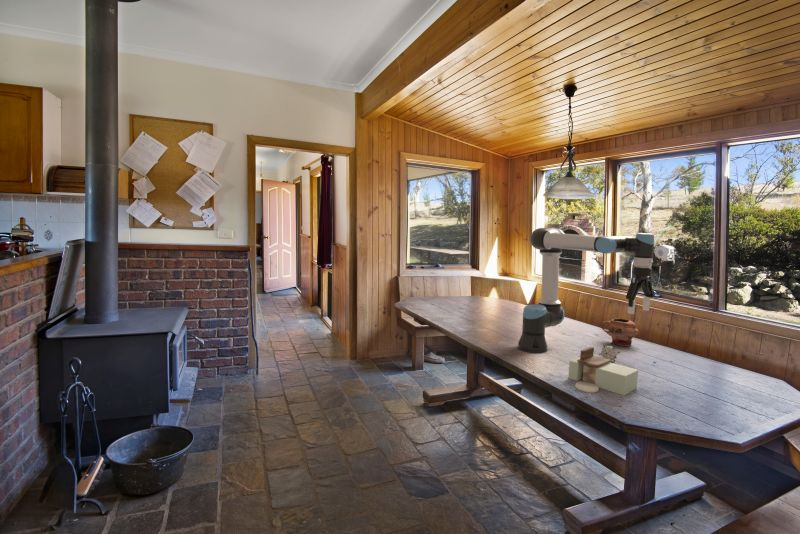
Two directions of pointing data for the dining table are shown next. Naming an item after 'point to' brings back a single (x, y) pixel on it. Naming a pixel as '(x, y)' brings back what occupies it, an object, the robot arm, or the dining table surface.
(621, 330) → the decorative planter
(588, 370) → the maple block
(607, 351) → the game die
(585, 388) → the cream coaster
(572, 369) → the pale green split block
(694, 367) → the dining table surface
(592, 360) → the walnut cover
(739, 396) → the dining table surface
